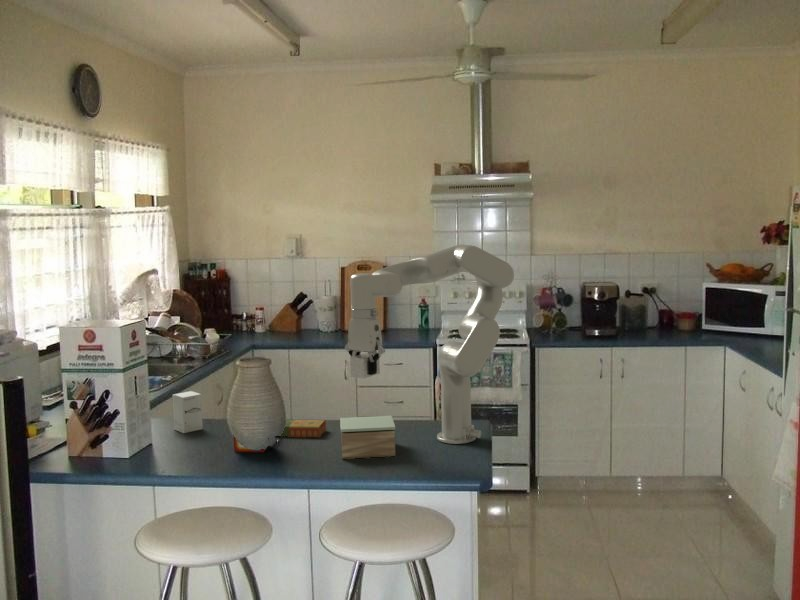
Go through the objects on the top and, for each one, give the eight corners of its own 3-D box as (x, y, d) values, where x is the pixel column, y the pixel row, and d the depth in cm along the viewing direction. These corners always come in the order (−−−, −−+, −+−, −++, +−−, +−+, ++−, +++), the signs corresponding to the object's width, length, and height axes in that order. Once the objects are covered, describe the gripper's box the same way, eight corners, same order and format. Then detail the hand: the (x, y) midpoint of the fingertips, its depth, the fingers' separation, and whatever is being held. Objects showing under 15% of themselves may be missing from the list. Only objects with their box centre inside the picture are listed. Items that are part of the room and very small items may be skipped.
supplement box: (183, 434, 266) (181, 397, 264) (173, 429, 271) (171, 394, 270) (203, 429, 271) (201, 393, 269) (193, 425, 276) (191, 390, 274)
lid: (395, 429, 235) (395, 426, 235) (340, 432, 234) (340, 429, 234) (391, 418, 249) (391, 415, 249) (340, 420, 248) (340, 417, 248)
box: (395, 456, 236) (394, 431, 235) (342, 459, 235) (341, 433, 234) (391, 443, 250) (391, 418, 249) (341, 445, 249) (340, 420, 248)
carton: (319, 439, 258) (319, 426, 257) (272, 437, 260) (272, 425, 260) (326, 431, 266) (325, 419, 265) (280, 430, 268) (280, 418, 268)
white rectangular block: (379, 373, 241) (379, 354, 241) (363, 378, 235) (363, 358, 234) (366, 371, 244) (366, 352, 243) (350, 376, 238) (350, 357, 237)
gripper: (393, 314, 235) (395, 373, 238) (349, 311, 245) (351, 368, 247) (378, 317, 229) (380, 378, 232) (334, 314, 239) (335, 372, 241)
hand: (365, 372), depth 239 cm, fingers closed on white rectangular block, 5 cm apart
